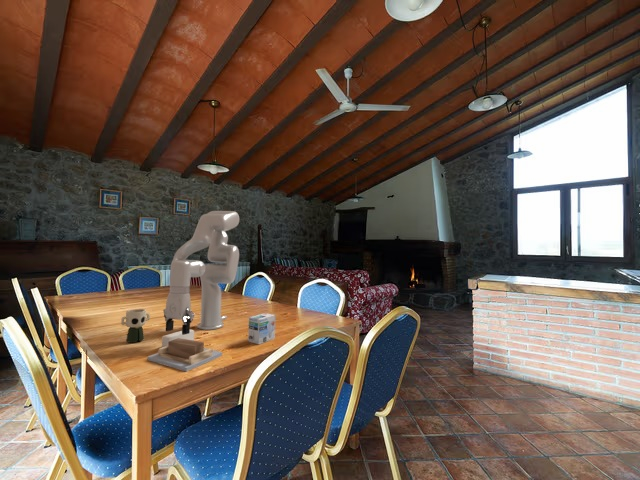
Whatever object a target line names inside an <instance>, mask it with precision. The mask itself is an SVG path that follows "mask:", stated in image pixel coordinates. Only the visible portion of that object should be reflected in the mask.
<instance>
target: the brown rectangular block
mask: <svg viewBox="0 0 640 480" xmlns="http://www.w3.org/2000/svg"><path fill="white" fill-rule="evenodd" d="M204 348H205V342H204V341H199V340H194V341H193V340H187V339H181V338H177V339H174V340H172V341H169V342H168V354H169V355H172V356H176V357H180V358H184V359H189V357H190V356H193V355H195V354H198V353H200V352H203V351H204Z"/></svg>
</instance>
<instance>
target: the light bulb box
mask: <svg viewBox="0 0 640 480" xmlns="http://www.w3.org/2000/svg"><path fill="white" fill-rule="evenodd" d="M247 337H248V340H247V341H248V343H252V344H257V345H262V344H265V343H266V342H269V341H272V340H275V338H276V314H271V313H268V312H264V313H260V314H257V315H252V316H249V317H248V335H247Z"/></svg>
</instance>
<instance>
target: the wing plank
mask: <svg viewBox="0 0 640 480" xmlns="http://www.w3.org/2000/svg"><path fill="white" fill-rule="evenodd" d="M177 338H181V339H187V340H193V341H195V330H193V329H190V333H188V334H185V335H182V330H180V331H175V332H172V333H169V334H166V335H162V338H161V348H163V347H166V346H168V342H169V341H172V340H174V339H177Z"/></svg>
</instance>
